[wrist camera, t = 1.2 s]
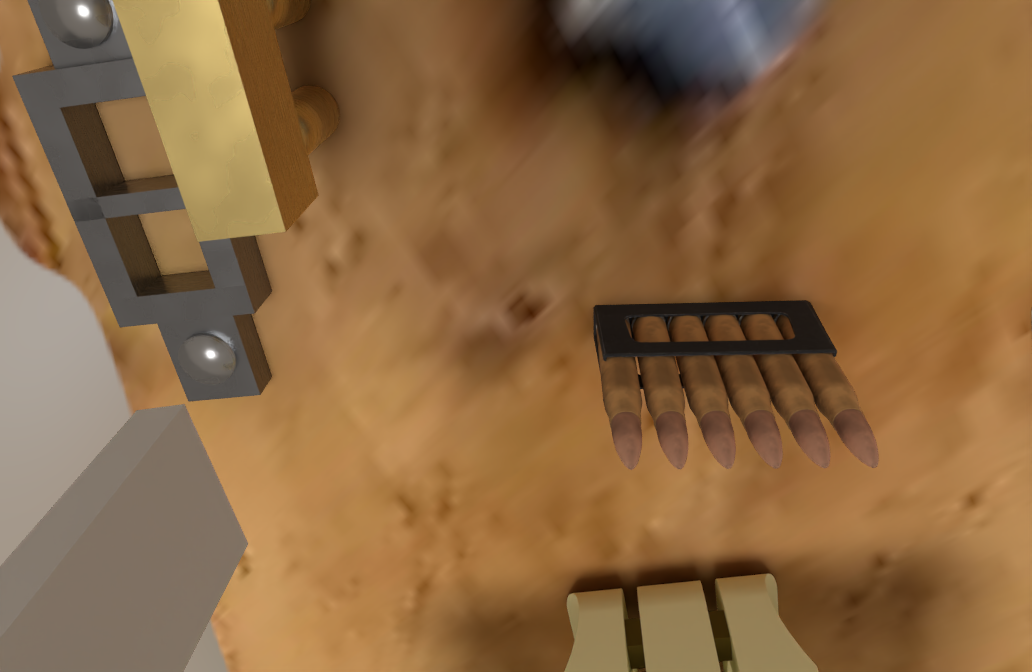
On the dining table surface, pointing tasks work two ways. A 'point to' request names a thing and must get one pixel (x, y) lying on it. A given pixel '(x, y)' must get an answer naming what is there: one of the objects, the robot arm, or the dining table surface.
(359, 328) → the dining table surface
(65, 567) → the robot arm
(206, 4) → the tan piece
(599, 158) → the dining table surface
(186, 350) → the chain joint
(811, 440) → the ammunition clip
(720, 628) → the slatted curved stool
